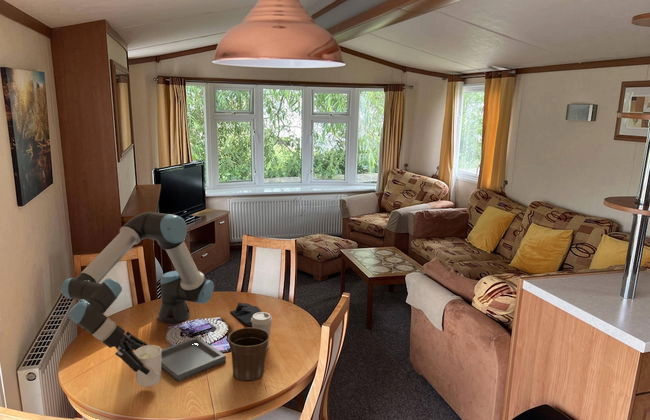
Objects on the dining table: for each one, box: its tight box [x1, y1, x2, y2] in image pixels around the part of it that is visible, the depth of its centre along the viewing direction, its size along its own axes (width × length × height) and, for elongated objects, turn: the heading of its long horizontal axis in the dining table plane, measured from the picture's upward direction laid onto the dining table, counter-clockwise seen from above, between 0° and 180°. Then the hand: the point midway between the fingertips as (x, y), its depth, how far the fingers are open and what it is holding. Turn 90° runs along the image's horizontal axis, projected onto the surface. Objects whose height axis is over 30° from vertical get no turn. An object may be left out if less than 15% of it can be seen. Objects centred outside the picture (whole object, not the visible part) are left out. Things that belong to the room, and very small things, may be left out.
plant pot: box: [227, 327, 270, 381], centre depth 192 cm, size 16×16×16 cm
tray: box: [161, 336, 227, 383], centre depth 200 cm, size 22×22×3 cm
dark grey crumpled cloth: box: [230, 302, 263, 326], centre depth 243 cm, size 15×22×5 cm
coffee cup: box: [251, 311, 274, 350], centre depth 213 cm, size 10×10×15 cm
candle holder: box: [133, 344, 163, 388], centre depth 178 cm, size 10×10×12 cm
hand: (157, 369), depth 179 cm, fingers closed on candle holder, 9 cm apart
